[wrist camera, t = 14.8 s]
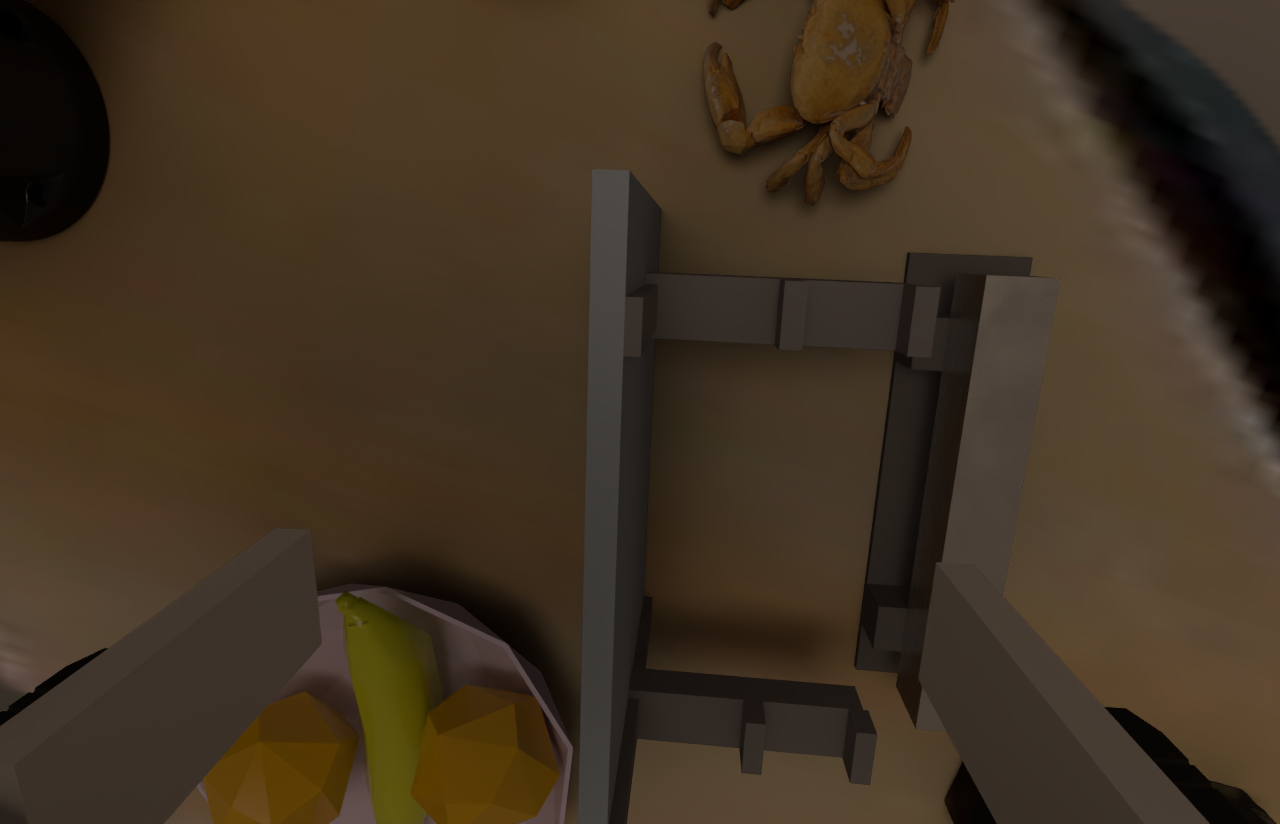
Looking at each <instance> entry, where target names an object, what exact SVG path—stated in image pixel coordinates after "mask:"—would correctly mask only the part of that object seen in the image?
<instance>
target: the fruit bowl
mask: <svg viewBox="0 0 1280 824" xmlns="http://www.w3.org/2000/svg"><path fill="white" fill-rule="evenodd" d="M317 597H318V607H319V617H320V627H321V636H322V644H321V645H320V647H319V648H318V649H317V650H316V651H315V652H314V653H313V655H312V656H311V657H310V658H309V659H308V660H307V661H306V663H305V664H304V665H303V666H302V667H301V668H300V669H299V670H298V672H297V673H296V674H295V675H294V676H293V677H292V678H291V680H290V681H289V682H288V683H287V684H286V685H285V686H284V688H283V689H282V690H281V691H280V692H279V693H278V694H277V696H276V697H275V698H274V699H273V700H272V701H271V702H270V703H269V705H268V706H267V707H266V708H265V709H264V710H263V711H262V713H261V714H260V715H259V716H258V717H257V718H256V719H255V721H254V722H253V723H252V724H251V725H250V726H249V727H248V728H247V730H246V731H245V732H244V733H243V734H242V735H241V736H240V738H239V739H238V740H237V741H236V742H235V743H234V744H233V746H232V747H231V748H230V749H229V750H228V751H227V752H226V753H225V755H224V756H223V757H222V758H221V759H220V760H219V761H218V763H217V764H216V765H215V766H214V767H213V768H212V769H211V771H210V772H209V773H208V774H207V775H206V776H205V777H204V779H203V780H202V781H201V782H200V783H199V784H198V785H197V788H198V790H199V791H200V792H201V793H202V795H203V796H204V797H205V799H206V800H207V801H208V803H209V807H210V811H211V816H212V820H213V824H564V819H565V811H566V803H567V795H568V786H569V778H570V770H571V762H572V754H573V746H572V744H571V741H570V739H569V737H568V734H567V732H566V730H565V727H564V725H563V722H562V720H561V718H560V715H559V713H558V711H557V708H556V706H555V704H554V701H553V699H552V696H551V694H550V692H549V689H548V687H547V685H546V682H545V680H544V678H543V675H542V673H541V672H540V671H539V670H538V669H537V668H536V667H534V666H533V665H532V664H531V663H530V662H528V661H527V660H526V659H525V658H524V657H523V656H521V655H520V654H519V653H518V652H517V651H515V650H514V649H513V648H512V647H511V646H509V645H508V644H507V643H506V642H505V641H503V640H502V639H501V638H500V637H498V636H497V635H496V634H495V633H494V632H492V631H491V630H490V629H489V628H487V627H486V626H485V625H484V624H483V623H481V622H480V621H479V620H478V619H476V618H475V617H474V616H473V615H472V614H470V613H469V612H468V611H467V610H465V609H464V608H463V607H462V606H461V605H459V604H458V603H453V602H449V601H445V600H440V599H436V598H432V597H428V596H423V595H419V594H415V593H410V592H406V591H402V590H397V589H393V588H389V587H383V586H373V585H363V584H353V583H350V584H346V585H341V586H337V587H333V588H329V589H324V590H320V591H317Z"/></svg>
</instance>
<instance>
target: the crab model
mask: <svg viewBox="0 0 1280 824" xmlns="http://www.w3.org/2000/svg"><path fill="white" fill-rule="evenodd" d="M718 1H719V0H708V8H709V13H710V14H712V15H713V16H715V13H716V8H717V4H718ZM742 1H743V0H722V2H723V3H724V4H725V5H726V6H727V7H729V8H731V9H734V8H735V7H737V6H738V5H739V4H740V3H741V2H742ZM915 1H916V0H814V1H813V4H812V6H811V9H810V11H809V13H808V15H807V17H806V19H805V27H800V28H801V29H802V30H803V34H802V35H801V36H796V37H797V38H798V39H799V40H800V41H799V44H795V47H794V49H793V57H794V59H793V66H792V70H791V74H790V78H791V81H790V85H791V94H792V98H793V102H794V104H793V105H781V106H776V107H771V108H768V109H765V110H763V111H760V112H759V113H757V114H755V115H754V120H753V121H752V122H751V124H750V125H749V126H748V127H747V128H746V124H745V109H744V104H743V98H742V94H741V92H740V89H739V86H738V84H737V81H736V78H735V75H734V73H733V71H732V62H731V60H730V58H729V56H728V54H727V53H724V54H722V56H721V57H719V58H717V51H718V50H719V48H721V47H722V45H720V44H718V43H717V42H714V43H712V44H711V45H710V46H708V47H707V49H706V51H705V56H704V67H703V77H704V85H705V94H706V98H707V103H708V107H709V110H710V114H711V117H712V120H713V122H714V125H715V127H716V129H717V135H718V138H719V141H720V144H721V145H722V147H723V148H724V149H725V150H726V151H729V152H733V153H736V154H745V153H746V152H747V150H748V149H749V148H750V147H754V146H758V145H761V144H765V143H768V142H771V141H774V140H776V139H779V138H782V137H785V136H787V135H789V134H791V133H793V132H795V131H797V130H799V129H801V128H803V127H804V126H805V125H806V124H807V123H808V121H809V122H811V123H814V124H821V125H820V126H819V129H818V133H817V134H816V135H815V137H814V138H813V139H812V140H811V141H810V142H809V143H808V144H807V145H805V146H804V147H803V148H801V149H800V150H799V151H797V152H796V154H795V157H794V158H792V159H790V160H788V161H786V162H784V163H783V164H782V166H781V167H780V169H778V170H777V171H776V172H775V173H773V174H772V175H771V177H770V178H769V179H768V180H767V183H768V184H767V185H766V188H767V190H768V192H776V191H777V190H779V189H780V188H781V187H783V186H784V185H785V184H786V183H787V181H788V179H789V178H790V177H791V176H792V175H793V174H794V173H796V172H797V171H798V170H800V169H801V167H802V166H803V164H805V163H807V162H809V161H810V162H809V166H808V170H807V174H806V192H805V202H806V203H807V204H810V205H815V204H816V203H817V201H818V200H819V197H820V195H821V192H822V190H823V187H824V183H825V176H823V175H822V174H823V168H822V166H821V162H823V161H824V160H826V159H827V158H828V157H829V156H830V155H831V154H833V153H834V152H836V153H837V154H838V155H839V156H840V157H841V158H842V160H841V162H840V166H839V170H838V171H837V174H838V177H839V180H840V182H841V183H842V184H843V185H844V186H846V187H847V188H848V189H850V190H866V189H870V188H871V187H872V186H877V185H881V184H885V183H888V182H889V181H891V180H892V179H894V178H895V177H896V174H897V172H898V171H899V170H900V169H901V167H902V165H903V162H904V160H905V157H906V154H907V152H908V149H909V146H910V144H911V135H912V131H911V130H910V128H909V127H905V130H904V134H903V136H902V139H901V140H900V142H899V144H898V146H897V148H896V150H895V151H894V155H893V156H892V157H889V158H887V159H885V160H883V161H881V162H877V161H876V160H875V159H874V157H873V155H872V154H871V152H869V151H868V149H869V147H870V145H871V141H872V130H873V128H874V126H875V124H874V117H875V115H876V114H877V112H878V107H879V103H882V102H883V103H882V106H881V108H882V107H884V108H885V110H886V113H887V115H888V116H889V114H891V115H892V114H893V117H894V115H895V113H896V112H898V110H899V107H900V105H901V103H902V100H903V98H904V96H905V94H906V91H907V88H908V85H909V81H910V76H911V69H912V60H911V59H909V58H908V57H907V56H906V54H905V50H904V48H903V47H902V48H901V47H900V45H901V42H902V40H901V35H902V32H903V28H904V25H905V24H906V22H907V21H908V20H909V18H910V17H909V13H910V12H911V10H912V9H913V6H914V4H915ZM950 2H955V0H950ZM934 3H935V4H937V5H939V8H938V9H937V11H936V12H935V14H934V19H933V24H932V29H931V32H930V35H929V39H930V40H929V42H928V45H927V50H926V54H932V53H933V51H934V50H935V49H936V48H937V46H938V45H939V42H940V39H941V36H942V33H943V29H944V26H945V22H946V19H947V15H948V6H949V0H934ZM852 130H855V131H856V135H855V136H854V137H853V138H852V140H851V141H850V142H849V141H848V140H847V139H846V138H847V136H848V135H850V134H851V131H852Z"/></svg>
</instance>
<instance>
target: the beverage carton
mask: <svg viewBox="0 0 1280 824" xmlns="http://www.w3.org/2000/svg"><path fill="white" fill-rule="evenodd" d="M1210 782H1211V781H1210ZM1211 786H1212V788H1213V789H1218V790H1219V791H1220V792H1221V793H1222V794H1223V795H1224V796H1225V797H1226V799H1227V800H1228V801H1229V802H1230V803H1231V804H1232V805H1233V806H1234V807H1235V808H1236V809H1237V810H1238V811H1239V812H1240V813H1241V814H1242V815H1243V816H1244V817H1245V818H1246V819H1247V820H1248V821H1249V822H1250V823H1251V824H1276V823H1275V822H1274V821H1273V820H1272V819H1271V818H1270V817H1269V815H1268V814H1267V813H1266V812H1265V811H1264V810H1263V809H1262V808H1261V807H1259V806H1258V805H1257V804H1256V803H1255V802H1254V801H1253V800H1252V799H1251V798H1250V796H1249V795H1248V794H1247V793H1245V792H1244V791H1243V790H1241V789H1237V788H1233V787H1230V786H1226V785H1222V784H1218V783H1214V782H1211ZM945 803H946V806H947V809H948V812H949V814H950V816H951V819H952V821H953V823H954V824H997V823H996V821H995V819H994V818H993V816H992V814H991V812H990V810H989V808H988V807H987V805H986V803H985V801H984V799H983V797H982V796H981V794H980V792H979V790H978V788H977V786H976V785H975V783H974V781H973V779H972V777H971V775H970V773H969V772H968V770H967V768H966V766H965V764H964V763H963V764H962V766H961V768H960V770H959V773H958V775H957V777H956V779H955V780H954V782H953V785H952V787H951V789H950V791H949V792H948V794H947V796H946V798H945Z"/></svg>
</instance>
